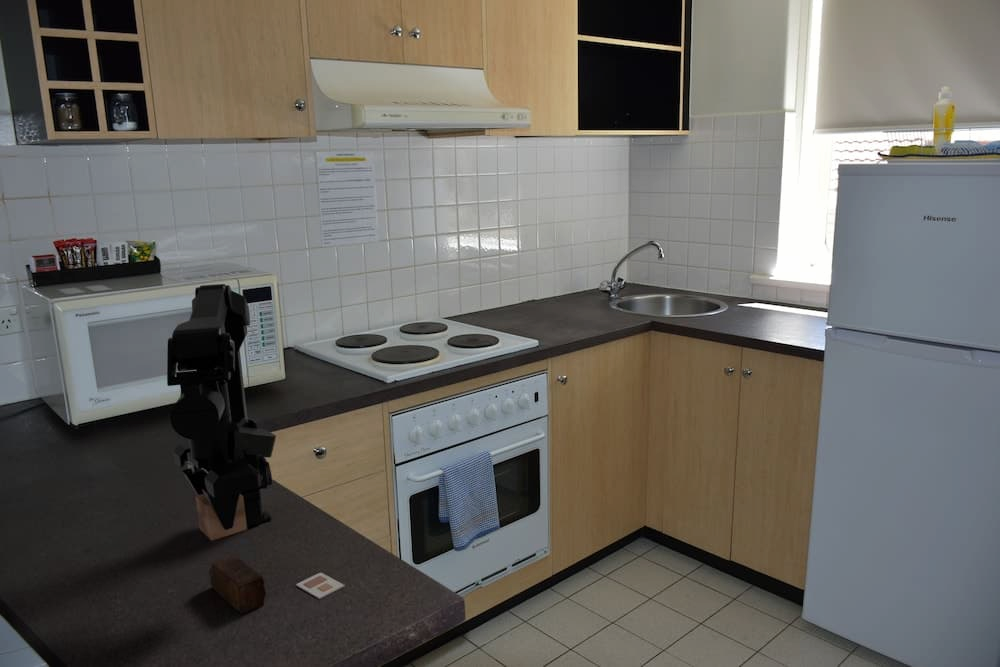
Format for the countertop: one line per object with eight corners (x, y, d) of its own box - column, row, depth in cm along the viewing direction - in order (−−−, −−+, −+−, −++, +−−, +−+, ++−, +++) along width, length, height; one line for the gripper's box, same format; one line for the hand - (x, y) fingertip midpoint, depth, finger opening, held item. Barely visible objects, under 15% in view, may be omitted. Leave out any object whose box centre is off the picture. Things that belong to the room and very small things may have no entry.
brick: (268, 605, 109) (264, 575, 108) (241, 616, 106) (237, 585, 105) (236, 578, 117) (232, 550, 116) (210, 588, 114) (206, 560, 113)
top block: (199, 528, 109) (195, 495, 108) (234, 518, 112) (230, 486, 111) (211, 540, 105) (207, 506, 104) (247, 529, 108) (243, 496, 107)
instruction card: (295, 585, 114) (295, 583, 114) (320, 573, 117) (320, 571, 117) (319, 599, 110) (319, 597, 110) (344, 586, 113) (344, 584, 113)
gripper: (292, 418, 103) (303, 526, 106) (242, 392, 117) (253, 488, 121) (208, 437, 96) (222, 552, 99) (166, 408, 111) (179, 509, 114)
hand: (222, 522), depth 108 cm, fingers closed on top block, 5 cm apart
